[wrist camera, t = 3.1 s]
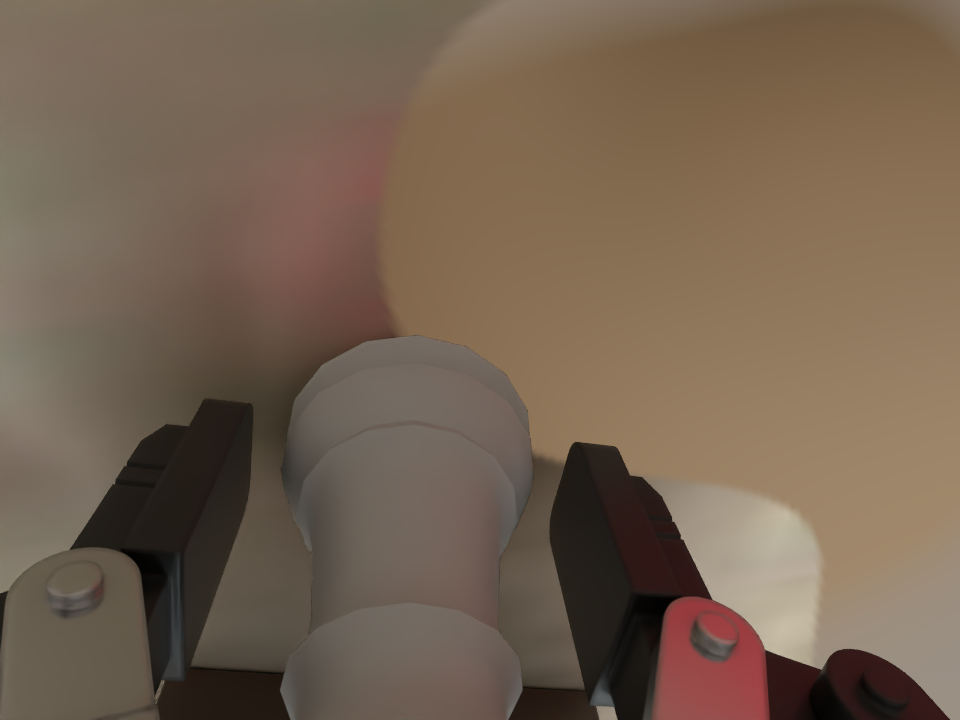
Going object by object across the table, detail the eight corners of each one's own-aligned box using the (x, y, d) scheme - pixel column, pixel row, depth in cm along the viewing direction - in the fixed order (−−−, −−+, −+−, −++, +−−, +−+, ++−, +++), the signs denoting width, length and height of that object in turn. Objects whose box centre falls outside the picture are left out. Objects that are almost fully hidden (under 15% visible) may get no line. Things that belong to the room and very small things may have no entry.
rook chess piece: (553, 486, 14) (691, 998, 7) (345, 546, 14) (266, 1094, 7) (490, 291, 12) (594, 726, 5) (248, 366, 12) (-5, 884, 5)
